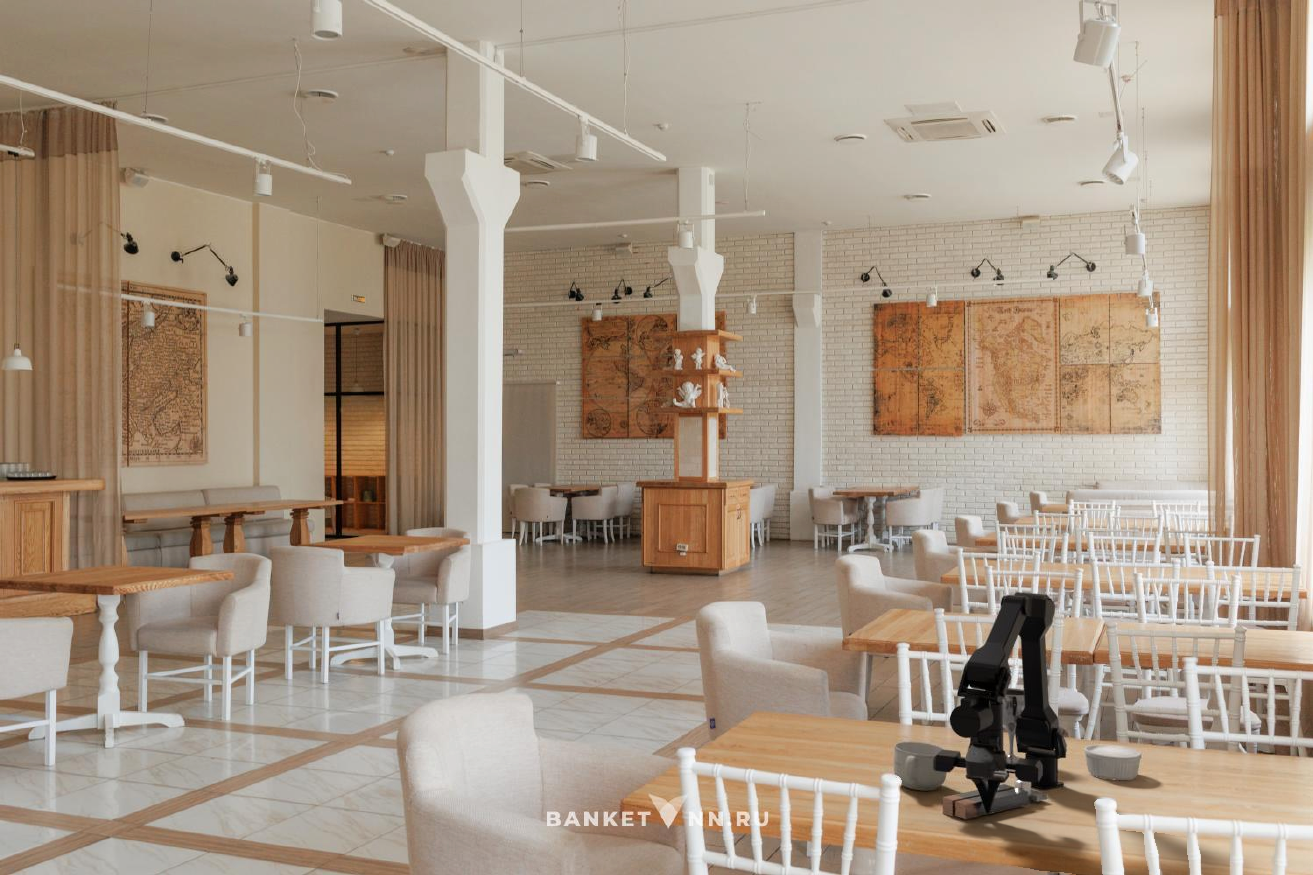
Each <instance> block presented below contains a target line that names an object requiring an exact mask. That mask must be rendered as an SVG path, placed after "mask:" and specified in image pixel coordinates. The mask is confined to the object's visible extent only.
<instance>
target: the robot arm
mask: <svg viewBox="0 0 1313 875" xmlns="http://www.w3.org/2000/svg"><path fill="white" fill-rule="evenodd" d="M1055 611H1056V604H1055V601H1054V600H1053V599H1052V598H1050V596H1049V595H1048V594H1043V593H1034V592H1021V591H1019V592H1018V591H1017V592H1015V593H1014V594H1006V595H1003V596H1002V597H1001V599H1000V609H999V610H998V614H997V616H996V618H995V620H994V623H993V624H992V627H991V629H990V631H989V634H988V636H987V638H986V640H985V643H984V644H983V645H982V646H981V647H979V648H977V649H975V650H974V651H973V652H972V654H971V655H970V657H969V659H968V660H967V662H966V663H965V664H964V667H963V669H962V670H963V671H962V674H961V677H960V681H959V685H958V689H957V693H956V696H957V697H961V698H960V705H958V706H956V707H955V708H954V709H953V710H952V711H951V713H950V716H949V724H950V727H951V729H952V731H953V732H954V733H955V734H956V735H958V736H959V737H961V738H964V739H967V738H968V739H969V745H968V748H967V751H966V755H965V756H962V754H961V751H959V750H951V749H947V750H943V749H942V750H941V751H940V752H939V753H938V754H937V755H936V756H935V757H934V759H933V770H935V771H941V772H947V773H951V772H952V771H953V770H954V769H955V768H962V769H965V771H966V774H965V778H966V779H967V780H971V781H972V782H973V784H974V785H975V787H976V790H978V792H979V794H980V797H981V800H982V803H983V805H984V808H985V811H986V813H989V812H990V810H991V807H992V804H993V801H994V798H995V795H996V792H997V789H998V787H999V785H1001V784H1005V783H1006V782H1007V781H1008V779H1009V777H1010V774H1014V776H1015V778H1016V779H1019V781H1026V782H1031V787H1034V788H1037V789H1041V790H1049V789H1054V788H1058V787H1063V786H1065V782H1063V781H1060V780H1059V779H1058V778H1059V775H1058V774H1059V770H1058V769H1059V768H1058V767H1059V765H1058V764H1059V759H1066V758H1067V751H1068V750H1067V748H1068V746H1067V745H1068V744H1067V741H1066V738H1065V737H1064V734H1063V732H1062V729H1061V728H1060V724H1059V723H1060V722H1059V717H1058V716H1057V714H1056V713H1055V711H1054V710H1053V709H1052V707H1051V705H1050V702H1049V699H1050V698H1049V681H1048V664H1047V663H1048V662H1047V646H1046V635H1047V633H1048V631H1049V630H1050V628H1051V626H1052V624H1053V623H1054V616H1055ZM1018 637H1019V638H1020V648H1021V666H1022V682H1023V683H1022V685H1023V690H1024V709H1023V711H1022V712H1021V714H1020V716H1019V717H1018V718H1017V720H1016V729H1015V736H1014V738H1015V743H1016V751H1017V753H1019V754H1021V753H1023V754H1024V755H1025V757H1022V758H1020V759H1019V760H1018V761H1017V763H1011V762H1007V759H1006V755H1007V753H1006V751H1005V750H1004V726H1003V699H1005V696H1006V693H1007V690H1008V688H1010V687H1009V686H1010V683H1011V681H1012V671H1011V670H1012V669H1011V667H1010V663H1009V660H1010V656H1011V654H1012V652H1013V648H1014V647H1015V645H1016V641H1017V639H1018Z"/></svg>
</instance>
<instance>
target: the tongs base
mask: <svg viewBox="0 0 1313 875" xmlns="http://www.w3.org/2000/svg"><path fill="white" fill-rule="evenodd" d="M1016 788H1019V789H1022V790H1025V791H1028V805H1029V804H1030V805H1031V804H1032V801H1033V802H1036V803H1037V802H1041V801H1045V800H1046V801H1047V800H1048V793H1045V792H1041V791H1039V790H1035V789H1032V786H1031V782H1026V781H1019V779H1018V778H1016V779H1014V786H1012V785H1008V784H1005V783H1001V784H1000V785H999V787H998V789H997V792H1002V791H1007V790H1011V789H1016ZM997 792H996V793H997ZM979 796H980V794H979V792H978V789H975V790H971V791H966V792H961V793H957V794H952V795H947V796H942V814H943V815H946V816H949V815H950V816H949V817H951V816H952V817H953V816H954V817H956V816H955V801H960V800H965V799H969V798H974V797H979ZM954 817H953V818H954Z"/></svg>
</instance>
